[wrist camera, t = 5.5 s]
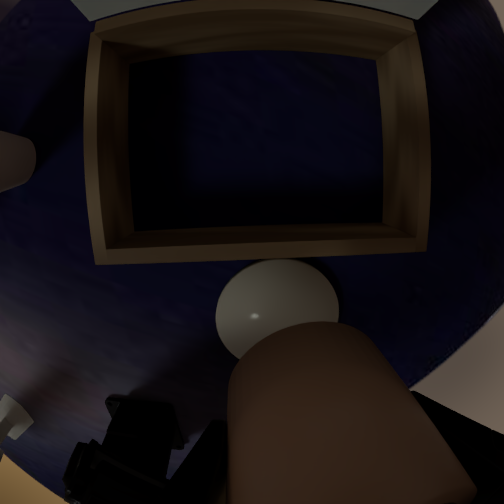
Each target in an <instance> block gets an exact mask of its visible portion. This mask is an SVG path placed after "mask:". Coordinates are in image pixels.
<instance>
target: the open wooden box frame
mask: <svg viewBox="0 0 504 504" xmlns="http://www.w3.org/2000/svg"><path fill="white" fill-rule="evenodd" d="M239 50H286V51H305V52H318V53H329V54H338V55H346V56H353V57H360V58H366V59H372V60H376V64H377V72H378V81H379V90H380V102H381V115H382V133H383V217H382V223H323V224H285V225H255V226H230V227H208V228H188V229H169V230H152V231H136V232H135V231H134V222H133V212H132V200H131V187H130V171H129V148H128V89H129V66H130V64H132V63H137V62H142V61H147V60H153V59H159V58H165V57H172V56H179V55H187V54H196V53H207V52H220V51H239ZM84 165H85V183H86V195H87V206H88V216H89V224H90V232H91V239H92V246H93V252H94V258H95V264H96V265H106V264H138V263H167V262H195V261H222V260H247V259H272V258H296V257H319V256H341V255H363V254H384V253H404V252H424V251H426V248H427V239H428V227H429V213H430V192H431V147H430V126H429V112H428V102H427V92H426V84H425V77H424V70H423V64H422V58H421V52H420V47H419V42H418V37H417V32H416V30H415V28H414V24H413V21H412V20H409V19H406V18H402V17H399V16H395V15H391V14H388V13H384V12H379V11H375V10H371V9H366V8H361V7H356V6H351V5H345V4H339V3H332V2H325V1H316V0H197V1H189V2H181V3H174V4H168V5H162V6H157V7H152V8H147V9H142V10H138V11H134V12H129V13H125V14H122V15H118V16H114V17H111V18H107V19H104V20H101V21H97V22H96V25H95V31H94V32H91V35H90V42H89V49H88V58H87V68H86V80H85V97H84Z"/></svg>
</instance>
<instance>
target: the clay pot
mask: <svg viewBox="0 0 504 504" xmlns="http://www.w3.org/2000/svg"><path fill="white" fill-rule="evenodd" d="M476 494H477V488H476V486H475V484H474V483H473V481H472V480H471V478H470V477H469V475H468V474H467V472H466V471H465V469H464V468H463V466H462V465H461V463H460V462H459V460H458V459H457V457H456V456H455V454H454V453H453V451H452V450H451V448H450V447H449V445H448V444H447V442H446V441H445V440H444V438H443V437H442V435H441V434H440V432H439V431H438V429H437V428H436V427H435V425H434V424H433V422H432V421H431V420H430V418H429V417H428V415H427V414H426V413H425V411H424V410H423V408H422V407H421V406H420V404H419V403H418V401H417V400H416V399H415V397H414V396H413V395H412V393H411V392H410V390H409V389H408V388H407V386H406V385H405V384H404V382H403V381H402V380H401V378H400V377H399V376H398V374H397V373H396V372H395V370H394V369H393V368H392V366H391V365H390V364H389V362H388V361H387V360H386V358H385V357H384V356H383V354H382V353H381V352H380V350H379V349H378V348H377V347H376V345H375V344H374V343H373V341H372V340H371V339H370V338H369V337H368V336H367V335H365V334H364V333H363V332H361V331H360V330H358V329H356V328H354V327H352V326H349V325H346V324H342V323H337V322H328V321H317V322H307V323H301V324H297V325H293V326H289V327H287V328H284V329H281V330H279V331H276V332H274V333H272V334H271V335H269V336H267V337H265V338H264V339H262V340H260V341H259V342H257V343H256V344H255V345H254V346H253V347H251V348H250V349H249V350H248V351H247V352H246V353H245V354H244V355H243V356H242V357H241V359H240V360H239V361H238V363H237V364H236V366H235V368H234V370H233V372H232V374H231V377H230V380H229V385H228V403H227V445H226V504H470V503H471V502H472V501H473V499H474V498H475V496H476Z"/></svg>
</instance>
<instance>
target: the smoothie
mask: <svg viewBox="0 0 504 504" xmlns="http://www.w3.org/2000/svg"><path fill="white" fill-rule="evenodd" d="M35 165H36V150H35V147H34V145H33V143H32V141H31V140H30V139H28V138H25V137H22V136H18V135H14V134H11V133H7V132H3V131H0V192H3V191H5V190H8V189H10V188H13V187H16V186H19V185H21V184H24V183H26V182H27V181H28V180H29V179H30V177H31V176H32V174H33V172H34V169H35Z"/></svg>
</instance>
